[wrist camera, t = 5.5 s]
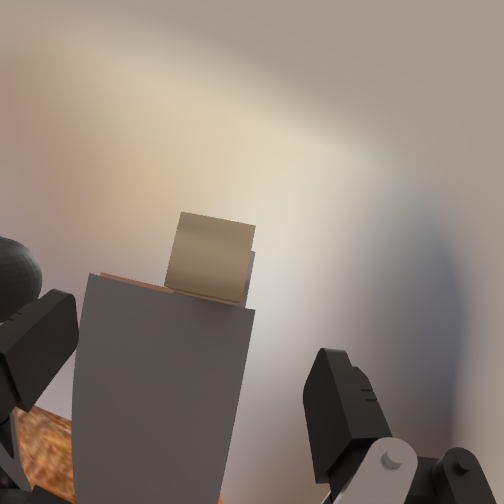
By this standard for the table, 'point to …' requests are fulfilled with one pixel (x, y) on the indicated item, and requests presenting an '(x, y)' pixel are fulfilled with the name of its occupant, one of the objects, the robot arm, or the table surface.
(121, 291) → the pedestal
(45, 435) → the table surface
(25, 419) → the table surface
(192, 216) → the beam
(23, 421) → the table surface
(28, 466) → the table surface
